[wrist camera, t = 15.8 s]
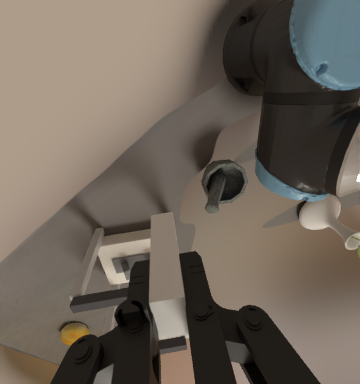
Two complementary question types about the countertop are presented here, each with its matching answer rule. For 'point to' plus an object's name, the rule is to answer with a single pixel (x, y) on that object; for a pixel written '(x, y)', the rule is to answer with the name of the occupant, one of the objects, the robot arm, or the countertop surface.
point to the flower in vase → (328, 220)
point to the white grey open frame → (112, 262)
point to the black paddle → (126, 270)
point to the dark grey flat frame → (116, 299)
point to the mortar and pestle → (223, 183)
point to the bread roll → (73, 332)
